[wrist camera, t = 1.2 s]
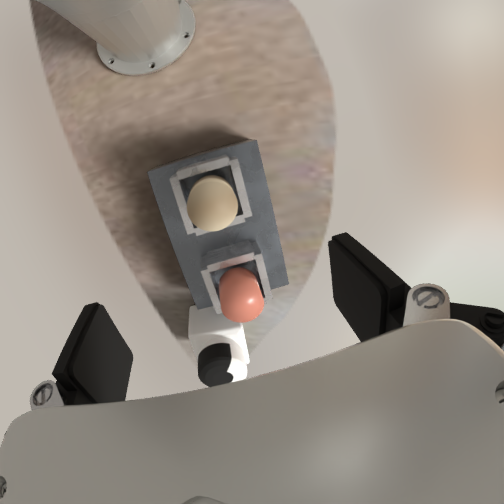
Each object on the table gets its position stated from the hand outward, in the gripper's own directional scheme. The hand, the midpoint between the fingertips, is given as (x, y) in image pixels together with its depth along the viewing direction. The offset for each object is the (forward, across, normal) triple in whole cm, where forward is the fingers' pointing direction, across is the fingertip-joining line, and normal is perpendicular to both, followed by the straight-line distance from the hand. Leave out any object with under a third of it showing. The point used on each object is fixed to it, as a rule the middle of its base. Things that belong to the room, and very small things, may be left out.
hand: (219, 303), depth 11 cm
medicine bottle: (+26, +5, +20) cm, 33 cm away
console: (+26, 0, +5) cm, 27 cm away
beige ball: (+18, 0, 0) cm, 18 cm away
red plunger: (+17, 0, +10) cm, 20 cm away
